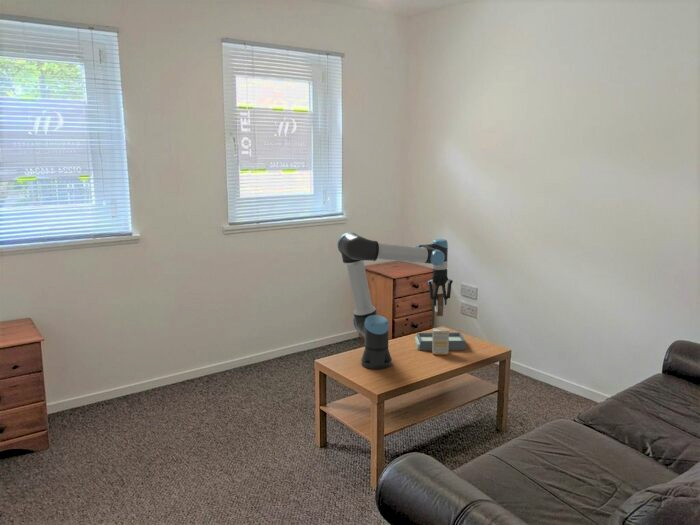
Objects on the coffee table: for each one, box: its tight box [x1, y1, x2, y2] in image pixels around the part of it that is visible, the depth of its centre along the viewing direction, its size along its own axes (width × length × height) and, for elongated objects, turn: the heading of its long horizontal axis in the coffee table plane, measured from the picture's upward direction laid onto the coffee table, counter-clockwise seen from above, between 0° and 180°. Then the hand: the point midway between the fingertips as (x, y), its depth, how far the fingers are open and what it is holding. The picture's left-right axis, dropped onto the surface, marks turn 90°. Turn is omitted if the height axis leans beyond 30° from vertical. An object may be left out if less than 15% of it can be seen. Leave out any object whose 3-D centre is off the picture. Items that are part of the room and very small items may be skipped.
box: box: [414, 331, 467, 351], centre depth 298 cm, size 25×14×5 cm, turn 90°
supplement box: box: [431, 327, 450, 356], centre depth 286 cm, size 8×5×13 cm, turn 84°
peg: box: [436, 292, 444, 317], centre depth 294 cm, size 3×3×12 cm
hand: (439, 311), depth 295 cm, fingers closed on peg, 3 cm apart
